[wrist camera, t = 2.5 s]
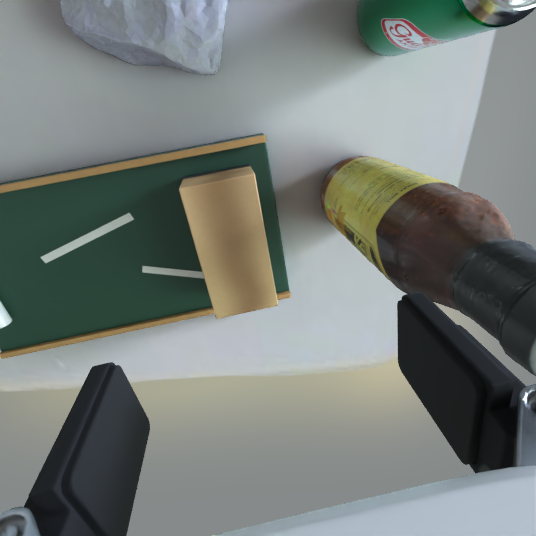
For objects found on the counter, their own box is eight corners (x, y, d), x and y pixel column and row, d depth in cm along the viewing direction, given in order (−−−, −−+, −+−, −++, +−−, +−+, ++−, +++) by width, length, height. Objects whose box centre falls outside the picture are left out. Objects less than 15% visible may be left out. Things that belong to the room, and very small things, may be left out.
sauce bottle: (305, 212, 29) (444, 388, 11) (338, 140, 27) (579, 218, 9) (369, 236, 31) (574, 419, 13) (405, 171, 28) (714, 285, 11)
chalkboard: (11, 347, 31) (1, 359, 29) (-87, 199, 24) (-106, 205, 23) (287, 288, 32) (290, 297, 31) (262, 133, 26) (265, 135, 24)
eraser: (216, 293, 30) (216, 319, 26) (183, 176, 25) (178, 188, 21) (271, 281, 30) (278, 305, 26) (249, 163, 25) (254, 173, 22)
